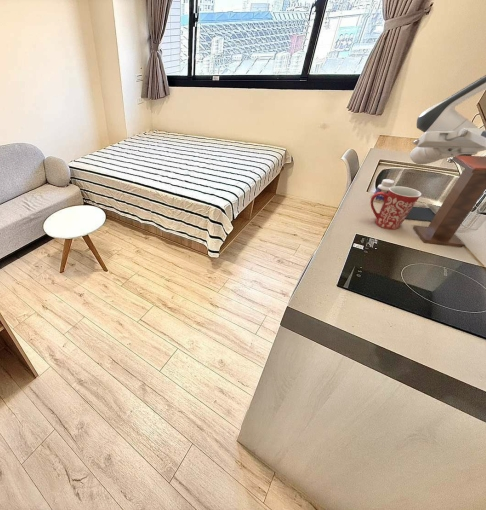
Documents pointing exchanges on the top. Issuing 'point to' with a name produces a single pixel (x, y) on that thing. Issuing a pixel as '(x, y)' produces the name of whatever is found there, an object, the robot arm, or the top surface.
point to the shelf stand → (456, 203)
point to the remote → (476, 135)
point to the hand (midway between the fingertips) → (476, 132)
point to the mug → (395, 206)
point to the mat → (420, 214)
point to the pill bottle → (383, 189)
